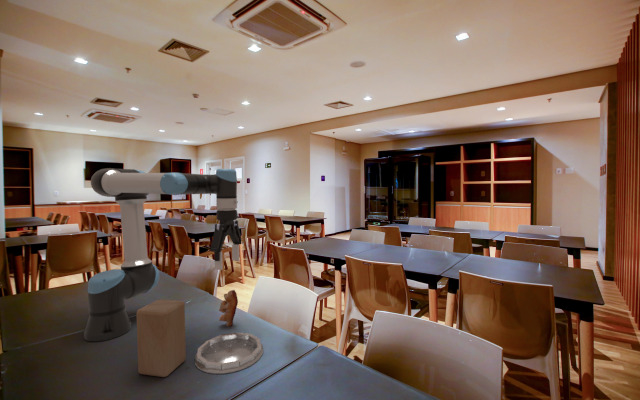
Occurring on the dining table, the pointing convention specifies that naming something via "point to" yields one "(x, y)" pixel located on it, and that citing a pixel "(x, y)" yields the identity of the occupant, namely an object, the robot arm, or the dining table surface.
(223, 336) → the metallic bowl
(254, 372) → the dining table surface
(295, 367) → the dining table surface
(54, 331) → the dining table surface
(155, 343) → the block
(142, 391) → the dining table surface
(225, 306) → the figurine
